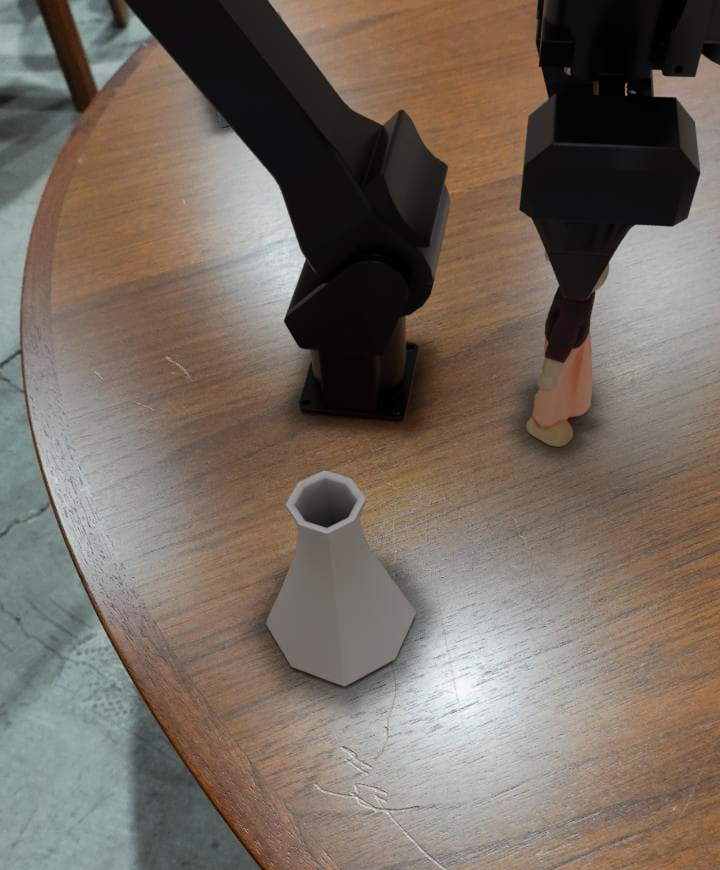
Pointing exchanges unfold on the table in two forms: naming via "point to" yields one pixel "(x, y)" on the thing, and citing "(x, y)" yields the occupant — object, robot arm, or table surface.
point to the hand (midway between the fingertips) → (577, 236)
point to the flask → (336, 588)
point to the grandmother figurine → (564, 368)
